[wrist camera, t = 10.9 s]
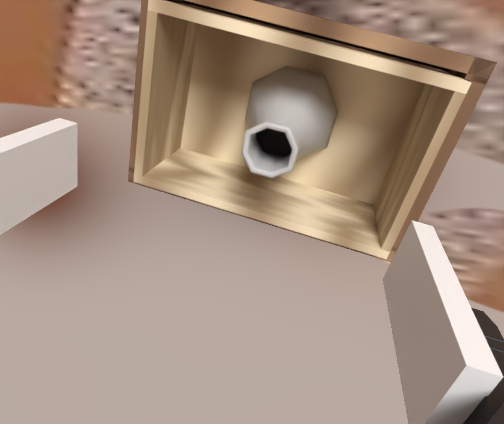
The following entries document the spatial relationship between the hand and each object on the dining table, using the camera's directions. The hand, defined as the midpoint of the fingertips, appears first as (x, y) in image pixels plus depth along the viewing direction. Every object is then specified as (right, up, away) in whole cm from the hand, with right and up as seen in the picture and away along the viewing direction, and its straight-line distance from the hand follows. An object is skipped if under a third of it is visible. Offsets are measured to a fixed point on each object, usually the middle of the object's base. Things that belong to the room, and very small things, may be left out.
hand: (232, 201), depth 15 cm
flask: (+4, +7, +15) cm, 17 cm away
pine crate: (+4, +8, +17) cm, 19 cm away
